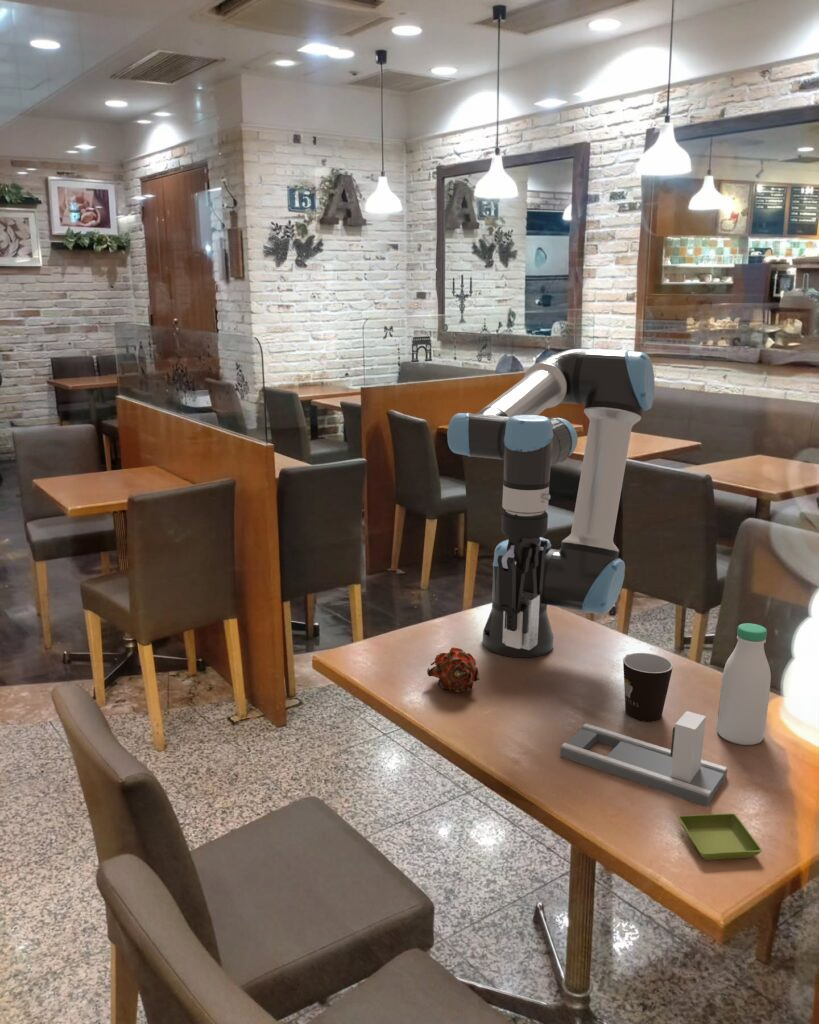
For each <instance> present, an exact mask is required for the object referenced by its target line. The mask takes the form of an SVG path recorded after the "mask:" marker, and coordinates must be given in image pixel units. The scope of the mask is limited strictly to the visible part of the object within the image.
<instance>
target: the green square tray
mask: <svg viewBox="0 0 819 1024" xmlns="http://www.w3.org/2000/svg"><path fill="white" fill-rule="evenodd" d="M677 819H678V821H679V824H680V825H681V826H682V828H683V830H685V833H686V834H687V836H688V837H689V839H690V841H691V842H692V843H693V845H694V847H695V848H696V849H697V851H698V853H699V854H700V856H701V857H702V858H703V859H704V860H707V861H708V860H709V861H710V860H726V858H728V859H745V858H748V857H749V858H752V857H755V856H757V855H759V854H761V853H762V852H763V849H762V847H761V846H760V845H759V843H758V842H757V841H756V839H755V838H754V837H753V836H752V834H751V833H750V831H749V830H748V828H747V827H746V826H745V825H744V824H743V822H742V821H741V819H740V818H739V816H738V815H737V814H736V813H733V812H732V813H731V812H730V813H712V814H710V813H709V814H687V815H685V814H684V815H683V814H682V815H678V816H677Z"/></svg>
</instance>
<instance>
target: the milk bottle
mask: <svg viewBox="0 0 819 1024" xmlns="http://www.w3.org/2000/svg"><path fill="white" fill-rule="evenodd" d="M736 633H737V636H736V639H737V643H736V645H735V648H734V649H733V651H732V653H731V654H730V655H729V657H728V659H727V660H726V662H725V665H724V668H723V674H722V679H721V686H720V696H719V705H718V713H717V721H716V722H717V723H716V730H717V734H718V735H719V736H720V737H721V738H723V739H724V740H725V741H728V742H730V743H732V744H736V745H741V746H754V745H758V744H760V743H761V742H763V740H764V738H765V733H766V732H765V731H766V724H767V716H768V708H769V700H770V692H771V682H772V681H771V680H772V679H771V677H772V676H771V675H772V673H771V669H770V668H771V667H770V664H769V661H768V658H767V656H766V653H765V645H764V644H766V642H767V635H768V630H767V628H766V627H764V626H762V625H759V624H756V623H751V622H750V623H749V622H747V623H746V622H744V623H741V624H739V625H738V626H737V630H736Z"/></svg>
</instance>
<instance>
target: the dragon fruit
mask: <svg viewBox="0 0 819 1024" xmlns="http://www.w3.org/2000/svg"><path fill="white" fill-rule="evenodd" d="M431 661H432V659H431V660H430V662H431ZM434 664H435V666H433V665H434ZM476 665H477V662H476V659H475V658H474V657H473V655H472V654H471V653H469V652H468V653H466V651H464V650H463V649H461V648H458V647H454V646H453V647H451V648H450V649H449V652H440V653H439V654H437V655H436V657H434V661H433V662H432V663H431V664H430V666H433V667H432V668H430V667H429V668H427V669H426V674H427V676H429V677H435V678H436V679H437V678H438V682H437V686H439V687H440V688H441V689H443V690H445V689H449V690H450V691H451V692H453V693H454V692H455V693H459V694H460V693H463V692H464V691H466V692H469V691H470V690H472V689H473V686H474V682H477V681H479V680H480V675H479V670H478V669H479V668H478V667H477V666H476Z"/></svg>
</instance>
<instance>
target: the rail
mask: <svg viewBox="0 0 819 1024" xmlns="http://www.w3.org/2000/svg"><path fill="white" fill-rule="evenodd" d="M706 717H707V716H706V715H702V714H699V713H697V712H696V713H695V712H693V711H692V712H691V711H689V710H686V711H685V712H684V713H683V715H681V717H680V718H679V719H678V720H677V722H675V725H674V726H672V733H671V734H672V737H671V747H670V749H669V748H666V747H664V746H663V747H662V746H660V745H656V744H654V743H650V742H647V741H644V740H642V739H641V740H640V739H639V738H638V739H637V738H635V737H631V736H628V735H625V734H621V733H618V732H615V731H611V730H608V729H606V728H602V727H599V726H595V725H592V724H589V723H585V722H584V724H583V725H582V728H580V730H579V731H577V732H576V733H575V734H574V735H573V736H571V738H570V739H569V740H568V741H566V742H563V743H562V744H561V748H560V754H559V757H561V758H563V759H567V760H570V761H571V762H572V761H573V762H576V763H579V764H581V765H584V766H587V767H590V768H593V769H596V770H598V771H602V772H604V773H608V774H611V775H614V776H617V777H620V778H622V779H625V780H628V781H630V782H634V783H636V784H640V785H642V786H645V787H648V788H651V789H655V790H658V791H661V792H663V793H666V794H669V795H673V796H675V797H678V798H681V799H683V800H687V801H689V802H692V803H695V804H698V805H701V806H704V807H708V805H709V804H710V802H711V801H712V800H713V798H714V796H715V795H716V794H717V792H718V791H719V789H720V787H721V786H722V784H723V783H724V781H725V780H726V779H727V775H728V768H727V766H725V765H724V766H723V765H720V764H717V763H715V762H710V761H707V760H705V759H702V758H703V756H702V755H703V747H704V736H705V728H706V727H705V726H706V721H707V720H706V719H707V718H706ZM597 742H598V743H601V744H602V745H603V744H604V745H606V746H609V747H614V748H613V749H612V750H611V751H610V752H609V753H608V754H607V755H602V754H600V753H597V752H594V751H591V748H592V747H593V746H594V745H595V744H596V743H597Z"/></svg>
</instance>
